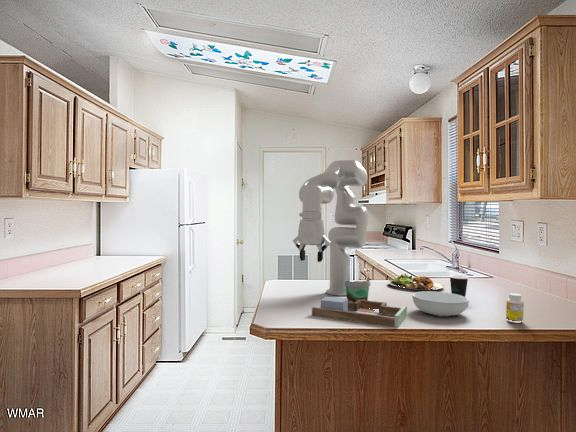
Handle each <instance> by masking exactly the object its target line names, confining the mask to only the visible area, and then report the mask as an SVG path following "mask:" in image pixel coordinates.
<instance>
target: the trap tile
mask: <svg viewBox="0 0 576 432" xmlns="http://www.w3.org/2000/svg"><path fill="white" fill-rule="evenodd" d="M363 311H365V313H371V312H374V311H375V310H373V309H369V308H360V309H359V310H357V312H363Z"/></svg>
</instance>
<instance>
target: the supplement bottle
mask: <svg viewBox="0 0 576 432" xmlns="http://www.w3.org/2000/svg"><path fill="white" fill-rule="evenodd" d="M524 306H525V305H524V300H522V294H520V293H509V294H508V298H507V299H506V313H505V317H506V318H505V319H508V320H512V321H522V320H523V321H524V311H525V309H524Z"/></svg>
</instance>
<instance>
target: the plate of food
mask: <svg viewBox="0 0 576 432" xmlns="http://www.w3.org/2000/svg"><path fill="white" fill-rule="evenodd" d="M387 283H388V284H389V285H391V286H394V287H398V285H399V286H400V287H401V288H400V287H399V288H400V289H403V287H405V288H406V289H409V290H411V289H412V290H415V291H416V290H418V291H433V290H434V291H435V290H440V289H443V288H444V287H445V284H443V283H442V282H437V281H435V280H432V279H431V278H430V277H429V276H425V275H421V276H414V277H413V276H412V275H410V276H408V275H407V273H404V274H401V275H399V276H397V278H394V279H389V280H388V282H387ZM433 286H435V287H437V288H436V289H435V287H433ZM432 287H433V288H432ZM431 288H432V290H431ZM419 289H420V290H419Z"/></svg>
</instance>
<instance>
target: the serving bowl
mask: <svg viewBox="0 0 576 432" xmlns="http://www.w3.org/2000/svg"><path fill="white" fill-rule="evenodd" d="M412 301H413V304H414V306H415V307H416V308H417V309H418V310H420V311H422V312H424V313H426V314H429V315H431V314H433V315H432V316H435V315H441V316H440V317H444V316H445V317H452V316H456V315H460V314H462V313H463V312H465V311H466V310H467V308H468V307H469V303H470V299H469V298H468V297H466V296H465V297H464V296H461V295H457V294H452V293H451V292H445V291H435V290H434V291H433V290H422V291H417V292H414V293H412ZM451 315H452V316H451Z"/></svg>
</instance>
